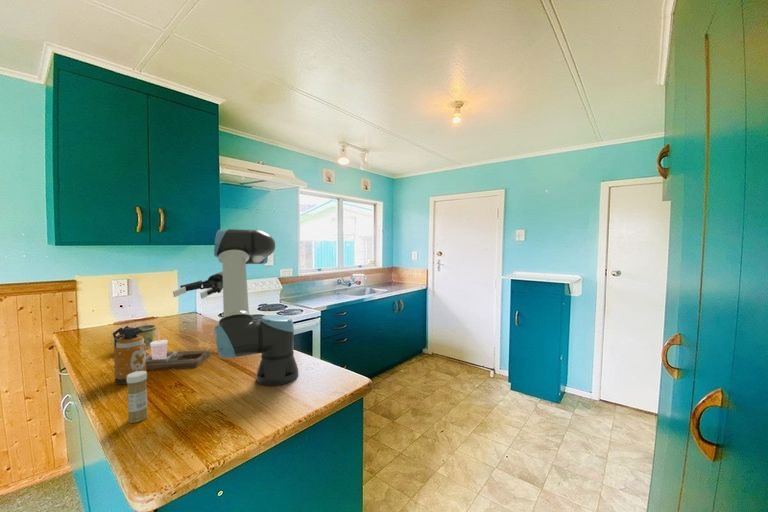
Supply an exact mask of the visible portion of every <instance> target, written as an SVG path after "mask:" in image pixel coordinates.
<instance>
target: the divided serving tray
mask: <svg viewBox="0 0 768 512" xmlns="http://www.w3.org/2000/svg"><path fill="white" fill-rule="evenodd" d="M211 352H212V351H211V349H207V350H206V349H205V350H203V349H202V350H186V351H185V350H183V351H182V350H181V351H178V350H177V351H176V350H175V351H167V355H166V358H165V359H152V352H151V353H150V354H147V355H146V371H153V369H157V370H169V369H171V370H173V369H172V368H174V369H189V368H188V367H192V368H197V367H198V366H199V365H201V364H202V363H203V362H204V361H205V360H206V359H208V357H209V356H211V354H212V353H211ZM184 358H189V359H184ZM182 359H183V360H182ZM203 360H204V361H203ZM202 361H203V362H202ZM201 362H202V363H201ZM200 363H201V364H200Z"/></svg>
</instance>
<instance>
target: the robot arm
mask: <svg viewBox="0 0 768 512" xmlns="http://www.w3.org/2000/svg"><path fill="white" fill-rule="evenodd" d="M275 250H276V242H275V240H274V237H272V236H271V235H270V234H269V233H267V232H266V231H262V230H260V229H235V228H234V229H233V228H220V229H218V230H217V232H216V234H215V238H214V249H213V255H214V257H215V258H217V259H218V262H220V263H221V264H222V267H221V268H222V270H221V271H219V272H217V273H215V274H212V275H210V276H209V277H208V278H207V280H203V281H202V280H199V281H195V282H191V283H186V284H182V285H180V286H179V288H177V289H175V290H172V294H173V295H172V296H173V298H177V297H178V296H181V295H182V294H183V295H184V294H186V293H187V292H190V291H194V290H199V289H200V290H203V291H201V292H199V294H200V299H205V298H207V297H208V296H210V295H212V294H216V293H218V294H219V293H220V294H221V292H222V300H223V301H222V303H223V317H221V318H220V319H219V321H218V324H217V325H215V326H214V334H215V335H214V336H215V342H216V348H217V353H218V356H219V357H220V358H221V359H230V358H231V359H236V358H238V357H244V356H251V355H258V354H261V356H260V357H261V358H260V359H261V360H260V361H259V362H260V363H259V365H258V369H257V371H256V377H255V379H256V382H257V383H258V384H259V385H262V386H267V387H268V386H269V387H270V386H279V385H281V386H282V385H285V384H288V383H291V382H294V380H295V381H296V379H297V378H298V377H299V367H298V364H297V361H296V358H295V356H294V355H295V354H294V344H295V343H294V332H295V329H294V321H293V319H292V318H291V317H288V316H285V315H277V314H275V315H271V314H269V315H263V316H261V318H260V320H258V321H257V320H256V321H255V318H254V315H252V314H250V311H249V310H250V309H249V295H248V293H249V292H248V280H247V265H253V264H254V265H264V264H268V262H269V261H268V260H269V259H268V258H269V256H271V255H272V254H273V253H274V251H275ZM204 289H205V290H204Z"/></svg>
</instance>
